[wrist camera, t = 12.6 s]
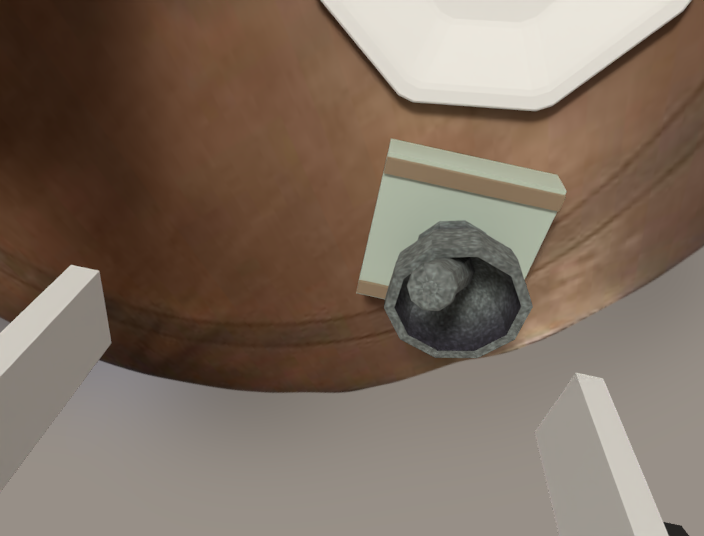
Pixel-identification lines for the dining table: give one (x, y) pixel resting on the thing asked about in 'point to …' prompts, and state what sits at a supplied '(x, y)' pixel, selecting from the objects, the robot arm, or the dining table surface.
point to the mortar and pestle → (457, 292)
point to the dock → (455, 206)
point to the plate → (497, 45)
